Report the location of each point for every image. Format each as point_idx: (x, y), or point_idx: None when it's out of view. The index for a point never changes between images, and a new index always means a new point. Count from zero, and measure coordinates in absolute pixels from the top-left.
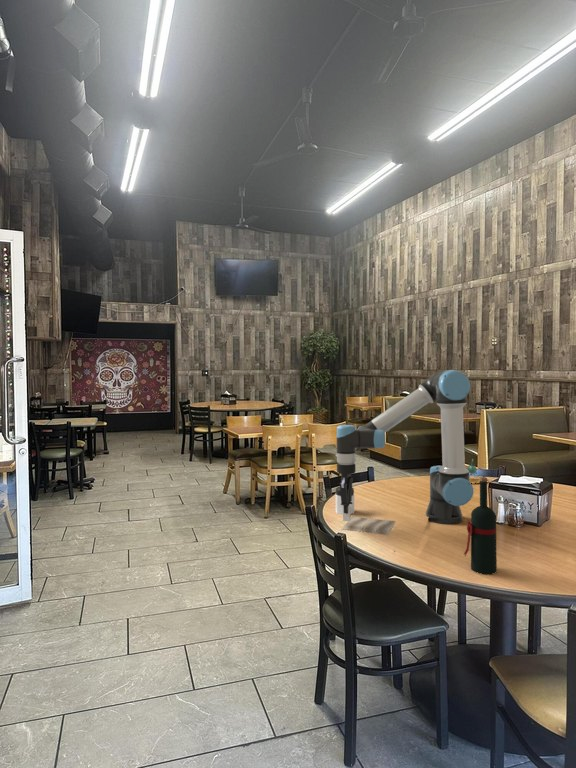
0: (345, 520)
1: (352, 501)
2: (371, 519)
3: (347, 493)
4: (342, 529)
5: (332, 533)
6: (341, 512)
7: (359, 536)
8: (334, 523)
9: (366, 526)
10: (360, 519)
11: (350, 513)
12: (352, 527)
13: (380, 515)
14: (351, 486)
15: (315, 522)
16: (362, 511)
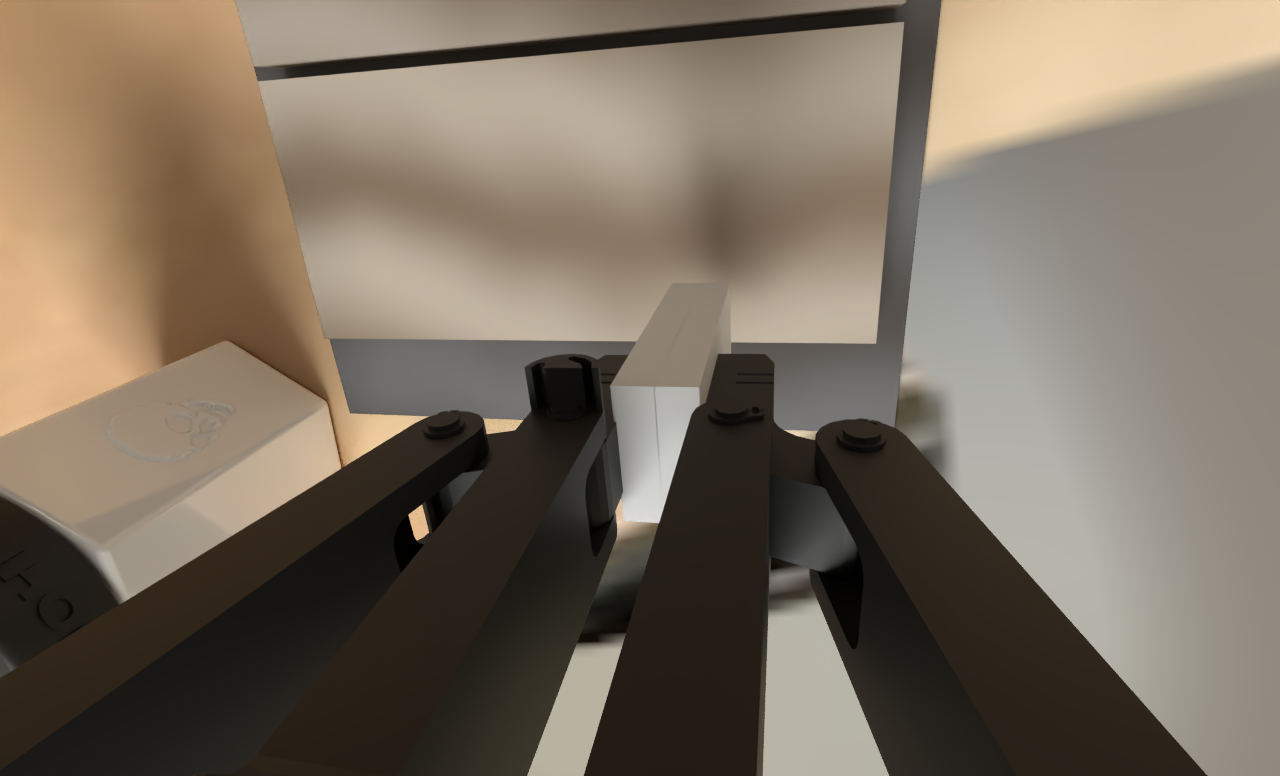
0: (730, 348)
1: (84, 434)
2: (285, 57)
3: (756, 676)
4: (876, 324)
5: (921, 418)
6: (306, 481)
7: (959, 30)
8: None
9: (615, 19)
10: (377, 208)
11: (251, 386)
12: (753, 213)
13: (6, 40)
14: (56, 732)
15: (616, 637)
16: (46, 297)
